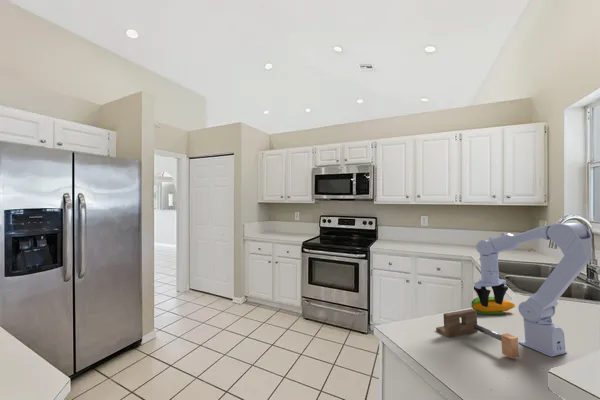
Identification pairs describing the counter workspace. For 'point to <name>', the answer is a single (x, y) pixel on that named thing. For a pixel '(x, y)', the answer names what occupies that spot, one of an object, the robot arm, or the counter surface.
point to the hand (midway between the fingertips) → (491, 304)
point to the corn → (491, 306)
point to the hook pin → (503, 342)
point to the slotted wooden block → (458, 323)
